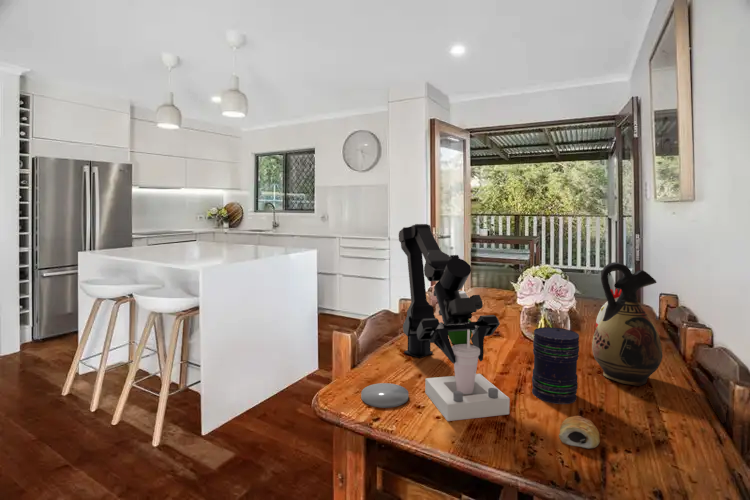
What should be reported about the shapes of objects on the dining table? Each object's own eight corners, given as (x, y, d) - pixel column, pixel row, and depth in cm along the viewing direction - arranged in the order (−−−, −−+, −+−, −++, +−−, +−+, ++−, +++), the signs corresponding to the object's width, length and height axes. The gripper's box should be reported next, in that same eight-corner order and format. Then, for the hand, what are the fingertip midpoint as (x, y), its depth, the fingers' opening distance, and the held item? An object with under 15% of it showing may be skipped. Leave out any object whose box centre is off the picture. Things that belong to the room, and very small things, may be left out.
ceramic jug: (649, 370, 113) (656, 261, 110) (669, 394, 98) (677, 268, 95) (580, 363, 118) (584, 259, 115) (589, 384, 104) (594, 265, 101)
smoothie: (480, 397, 90) (481, 334, 89) (450, 394, 91) (451, 332, 90) (478, 385, 96) (480, 326, 95) (450, 383, 97) (451, 324, 96)
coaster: (351, 396, 97) (351, 392, 97) (385, 383, 105) (385, 379, 105) (383, 412, 89) (383, 408, 89) (418, 397, 97) (418, 393, 96)
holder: (425, 392, 99) (425, 372, 99) (479, 387, 102) (479, 367, 102) (447, 421, 86) (447, 397, 85) (509, 414, 88) (509, 391, 88)
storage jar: (574, 408, 91) (577, 341, 90) (527, 397, 96) (529, 335, 95) (579, 391, 100) (581, 330, 98) (536, 383, 105) (538, 325, 103)
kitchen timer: (590, 323, 162) (592, 285, 160) (628, 324, 160) (630, 286, 159) (604, 333, 148) (606, 291, 147) (646, 334, 146) (649, 292, 145)
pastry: (563, 422, 86) (564, 404, 85) (600, 431, 82) (601, 412, 82) (557, 443, 77) (558, 424, 77) (598, 454, 74) (599, 434, 74)
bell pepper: (474, 346, 133) (475, 316, 132) (449, 346, 133) (449, 316, 132) (469, 339, 142) (469, 310, 141) (445, 339, 142) (445, 310, 141)
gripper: (420, 284, 93) (437, 348, 84) (497, 281, 97) (521, 341, 88) (410, 310, 102) (424, 370, 92) (480, 306, 106) (501, 364, 96)
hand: (468, 361), depth 92 cm, fingers closed on smoothie, 6 cm apart
